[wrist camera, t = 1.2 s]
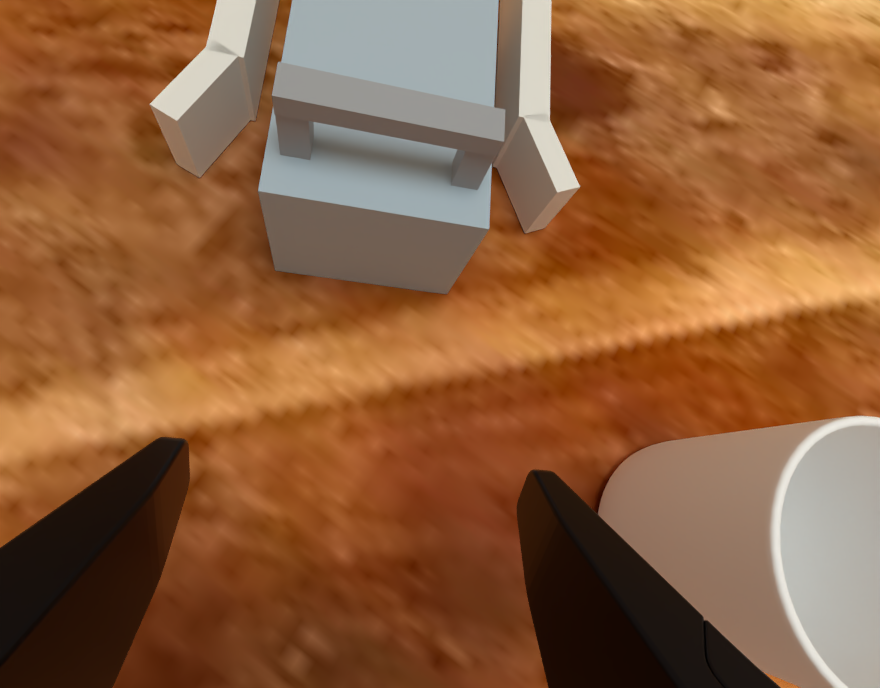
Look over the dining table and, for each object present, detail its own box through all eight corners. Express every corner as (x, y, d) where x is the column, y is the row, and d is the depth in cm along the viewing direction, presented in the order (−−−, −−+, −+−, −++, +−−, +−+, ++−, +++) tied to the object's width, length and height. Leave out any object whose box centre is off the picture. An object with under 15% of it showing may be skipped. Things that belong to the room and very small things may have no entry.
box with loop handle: (445, 295, 26) (518, 183, 16) (275, 272, 24) (245, 133, 15) (461, 47, 30) (527, -158, 20) (317, 14, 28) (315, -224, 19)
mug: (780, 421, 27) (1031, 384, 18) (832, 590, 26) (1144, 652, 16) (572, 456, 25) (736, 436, 15) (614, 650, 23) (832, 772, 13)
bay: (544, 236, 27) (580, 196, 24) (174, 173, 24) (146, 115, 20) (549, -65, 33) (578, -136, 29) (251, -150, 30) (241, -242, 26)
